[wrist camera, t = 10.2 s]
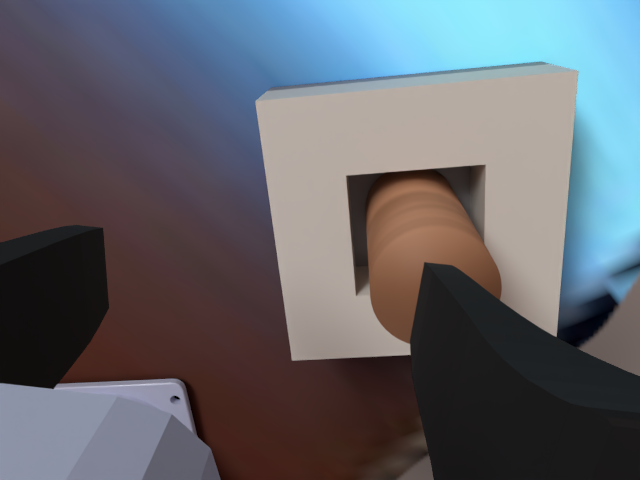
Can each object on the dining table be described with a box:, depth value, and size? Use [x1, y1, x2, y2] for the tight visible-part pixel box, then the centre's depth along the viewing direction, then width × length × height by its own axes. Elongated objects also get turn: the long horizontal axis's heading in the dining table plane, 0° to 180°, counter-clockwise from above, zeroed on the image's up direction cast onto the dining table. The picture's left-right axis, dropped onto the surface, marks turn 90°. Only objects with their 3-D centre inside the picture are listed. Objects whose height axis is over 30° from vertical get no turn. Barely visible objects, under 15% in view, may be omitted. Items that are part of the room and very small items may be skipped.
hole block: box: [255, 62, 578, 360], centre depth 20 cm, size 10×10×4 cm
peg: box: [365, 169, 502, 344], centre depth 18 cm, size 4×4×7 cm
